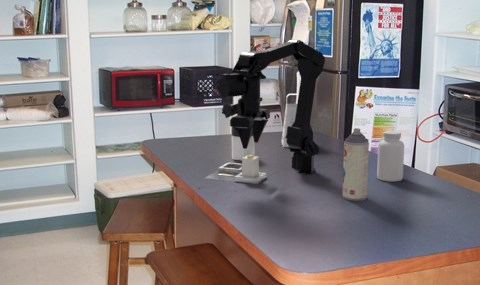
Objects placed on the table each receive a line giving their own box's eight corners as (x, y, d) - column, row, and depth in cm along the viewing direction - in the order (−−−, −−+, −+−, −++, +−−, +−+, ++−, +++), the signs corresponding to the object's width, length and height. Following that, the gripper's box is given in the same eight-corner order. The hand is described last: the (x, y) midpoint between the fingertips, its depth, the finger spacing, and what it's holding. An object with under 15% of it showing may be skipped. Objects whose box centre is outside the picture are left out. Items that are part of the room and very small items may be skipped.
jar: (239, 164, 216) (238, 130, 213) (226, 160, 222) (226, 127, 220) (260, 161, 221) (260, 128, 218) (247, 156, 227) (247, 124, 225)
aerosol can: (345, 193, 183) (347, 125, 178) (368, 195, 180) (371, 127, 176) (339, 199, 176) (342, 130, 172) (363, 202, 174) (366, 131, 170)
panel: (275, 175, 203) (275, 166, 202) (258, 188, 188) (258, 179, 188) (224, 169, 209) (224, 162, 209) (204, 181, 195) (203, 173, 194)
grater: (309, 147, 243) (311, 96, 239) (282, 147, 243) (283, 96, 239) (307, 141, 253) (308, 92, 249) (281, 141, 253) (282, 92, 249)
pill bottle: (404, 177, 200) (407, 131, 196) (399, 183, 192) (402, 135, 189) (379, 174, 203) (381, 129, 200) (374, 180, 196) (376, 133, 193)
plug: (258, 178, 194) (258, 154, 192) (254, 181, 190) (254, 157, 189) (246, 177, 196) (246, 153, 194) (242, 180, 192) (241, 156, 190)
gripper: (237, 89, 199) (237, 137, 202) (213, 97, 182) (213, 149, 185) (270, 91, 195) (270, 140, 198) (248, 99, 178) (248, 152, 181)
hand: (250, 145), depth 191 cm, fingers open, 9 cm apart
